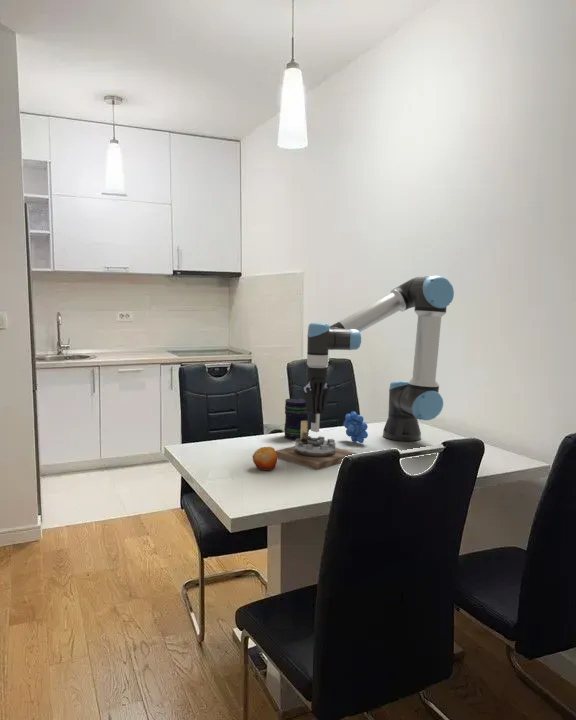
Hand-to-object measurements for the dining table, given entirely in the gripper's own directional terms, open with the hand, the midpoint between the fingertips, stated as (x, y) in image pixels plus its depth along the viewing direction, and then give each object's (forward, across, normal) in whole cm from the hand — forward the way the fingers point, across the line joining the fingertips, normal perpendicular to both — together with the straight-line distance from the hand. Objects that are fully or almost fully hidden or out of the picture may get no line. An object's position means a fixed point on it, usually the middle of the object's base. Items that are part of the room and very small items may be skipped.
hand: (314, 431), depth 204 cm
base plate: (+8, +6, +6) cm, 11 cm away
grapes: (+8, -21, +2) cm, 23 cm away
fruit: (+8, +28, +3) cm, 29 cm away
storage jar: (+8, -10, -18) cm, 22 cm away
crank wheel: (+5, +6, +6) cm, 10 cm away
